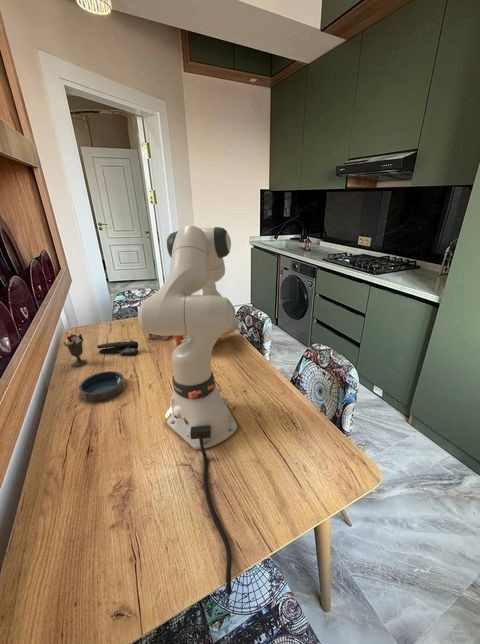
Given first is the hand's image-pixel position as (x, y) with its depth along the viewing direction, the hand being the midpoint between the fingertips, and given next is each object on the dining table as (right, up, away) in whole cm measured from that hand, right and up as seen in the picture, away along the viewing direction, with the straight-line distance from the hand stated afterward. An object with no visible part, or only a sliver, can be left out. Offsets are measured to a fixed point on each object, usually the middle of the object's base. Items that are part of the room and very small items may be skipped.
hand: (177, 338), depth 125 cm
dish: (-19, -17, -23) cm, 34 cm away
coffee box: (-13, 0, +17) cm, 21 cm away
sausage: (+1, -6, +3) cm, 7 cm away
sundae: (-38, -10, -7) cm, 40 cm away
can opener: (-26, -6, +2) cm, 27 cm away
